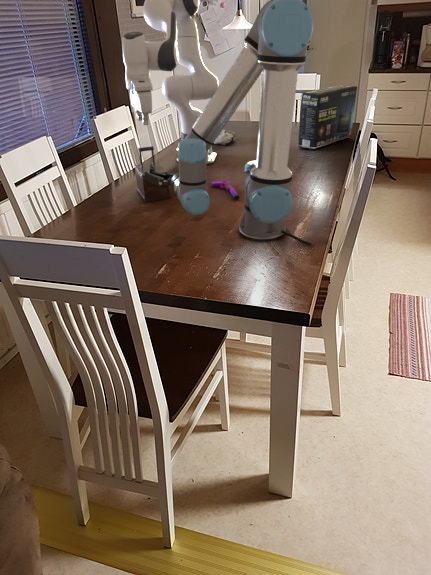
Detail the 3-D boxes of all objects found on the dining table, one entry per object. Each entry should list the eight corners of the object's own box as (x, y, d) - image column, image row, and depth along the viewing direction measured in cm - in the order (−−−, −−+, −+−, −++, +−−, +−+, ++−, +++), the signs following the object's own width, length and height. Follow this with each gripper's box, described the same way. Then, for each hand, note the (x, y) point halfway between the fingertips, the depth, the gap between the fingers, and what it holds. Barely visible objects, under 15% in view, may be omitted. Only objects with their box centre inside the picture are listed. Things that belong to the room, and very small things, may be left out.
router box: (314, 151, 231) (318, 94, 217) (296, 148, 237) (299, 92, 224) (352, 138, 251) (358, 85, 238) (335, 135, 258) (340, 83, 245)
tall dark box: (134, 167, 185) (131, 146, 180) (158, 164, 187) (156, 143, 183) (142, 177, 173) (139, 155, 169) (167, 174, 176) (165, 152, 171)
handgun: (210, 185, 192) (210, 181, 191) (228, 183, 193) (228, 179, 192) (220, 202, 174) (220, 197, 173) (240, 199, 175) (239, 195, 174)
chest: (137, 191, 189) (134, 168, 184) (160, 187, 192) (158, 164, 187) (145, 202, 178) (142, 177, 173) (169, 198, 180) (167, 174, 176)
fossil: (226, 139, 242) (207, 121, 245) (215, 156, 249) (197, 138, 252) (243, 138, 256) (224, 121, 259) (232, 154, 262) (215, 137, 266)
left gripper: (124, 80, 175) (129, 118, 182) (135, 87, 158) (140, 128, 166) (140, 79, 177) (144, 116, 184) (153, 85, 160) (157, 126, 167)
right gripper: (144, 202, 136) (134, 180, 154) (224, 194, 142) (206, 174, 160) (142, 178, 132) (132, 158, 150) (225, 170, 138) (206, 152, 156)
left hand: (142, 122), depth 175 cm, fingers open, 8 cm apart
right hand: (170, 166), depth 155 cm, fingers open, 13 cm apart
